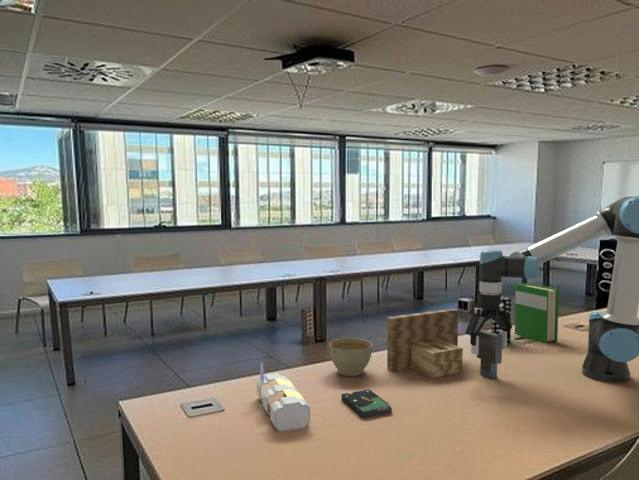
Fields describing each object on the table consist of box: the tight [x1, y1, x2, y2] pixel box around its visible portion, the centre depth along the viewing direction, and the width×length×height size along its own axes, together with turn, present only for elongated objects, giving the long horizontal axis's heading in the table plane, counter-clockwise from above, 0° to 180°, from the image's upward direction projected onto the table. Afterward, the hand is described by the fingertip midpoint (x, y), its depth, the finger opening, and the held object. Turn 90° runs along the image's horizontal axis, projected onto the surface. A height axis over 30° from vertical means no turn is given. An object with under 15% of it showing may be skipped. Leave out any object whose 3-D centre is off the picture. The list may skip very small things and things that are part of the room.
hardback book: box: [514, 282, 560, 345], centre depth 227 cm, size 18×7×24 cm, turn 25°
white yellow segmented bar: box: [256, 361, 311, 432], centre depth 149 cm, size 25×10×13 cm, turn 19°
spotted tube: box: [490, 295, 512, 345], centre depth 221 cm, size 8×8×20 cm
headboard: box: [386, 308, 464, 379], centre depth 186 cm, size 32×16×20 cm, turn 117°
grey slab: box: [476, 329, 503, 380], centre depth 178 cm, size 3×9×16 cm, turn 27°
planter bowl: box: [328, 337, 373, 377], centre depth 183 cm, size 16×16×11 cm
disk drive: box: [341, 389, 393, 420], centre depth 153 cm, size 10×3×15 cm
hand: (488, 351), depth 178 cm, fingers open, 13 cm apart
